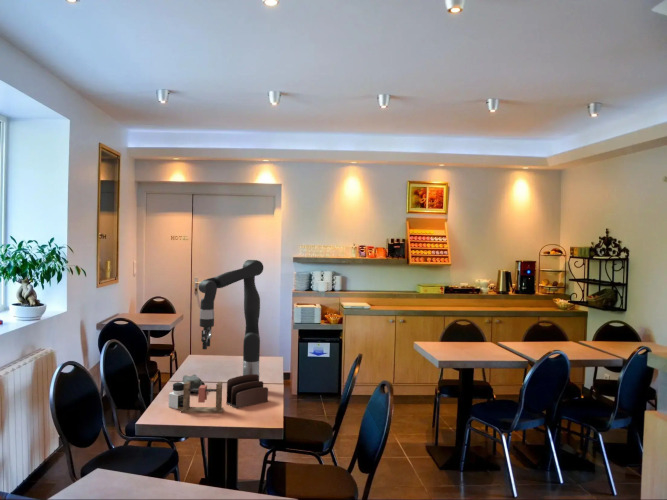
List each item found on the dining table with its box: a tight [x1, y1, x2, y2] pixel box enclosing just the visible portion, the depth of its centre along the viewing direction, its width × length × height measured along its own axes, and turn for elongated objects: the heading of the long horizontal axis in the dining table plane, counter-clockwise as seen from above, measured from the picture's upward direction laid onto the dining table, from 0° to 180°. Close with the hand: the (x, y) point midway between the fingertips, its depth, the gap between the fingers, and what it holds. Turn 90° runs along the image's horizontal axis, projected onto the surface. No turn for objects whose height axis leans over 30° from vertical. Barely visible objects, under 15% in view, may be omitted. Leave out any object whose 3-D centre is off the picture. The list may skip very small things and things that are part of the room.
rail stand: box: [180, 381, 225, 414], centre depth 256 cm, size 20×6×14 cm, turn 92°
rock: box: [181, 374, 206, 394], centre depth 293 cm, size 18×11×8 cm, turn 27°
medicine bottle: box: [168, 381, 184, 410], centre depth 263 cm, size 7×7×12 cm
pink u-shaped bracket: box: [197, 384, 208, 404], centre depth 256 cm, size 3×6×7 cm, turn 2°
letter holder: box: [225, 374, 269, 410], centre depth 272 cm, size 10×20×14 cm, turn 133°
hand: (206, 347), depth 275 cm, fingers open, 8 cm apart
